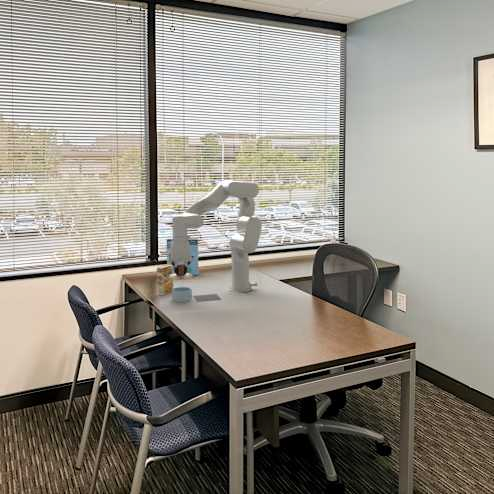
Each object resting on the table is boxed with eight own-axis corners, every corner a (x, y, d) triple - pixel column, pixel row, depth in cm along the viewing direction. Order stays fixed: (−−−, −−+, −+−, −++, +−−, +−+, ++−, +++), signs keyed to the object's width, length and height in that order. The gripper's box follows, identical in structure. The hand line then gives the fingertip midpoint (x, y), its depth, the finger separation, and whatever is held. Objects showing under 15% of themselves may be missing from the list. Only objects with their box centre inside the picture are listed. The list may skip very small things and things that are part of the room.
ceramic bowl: (189, 297, 282) (189, 286, 281) (193, 302, 273) (193, 290, 272) (170, 298, 279) (170, 287, 278) (174, 303, 270) (173, 292, 269)
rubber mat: (216, 295, 287) (216, 293, 287) (222, 300, 274) (222, 299, 274) (192, 296, 283) (192, 295, 283) (197, 303, 271) (197, 301, 271)
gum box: (167, 275, 338) (166, 239, 335) (169, 273, 343) (167, 238, 340) (197, 275, 337) (196, 239, 333) (198, 273, 342) (198, 238, 338)
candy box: (163, 296, 285) (162, 268, 283) (157, 295, 288) (156, 267, 285) (173, 292, 293) (172, 265, 291) (167, 291, 295) (166, 264, 293)
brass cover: (190, 273, 281) (190, 262, 280) (194, 278, 270) (194, 266, 269) (167, 275, 278) (167, 263, 277) (171, 279, 266) (170, 267, 265)
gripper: (194, 237, 277) (195, 272, 280) (162, 238, 272) (163, 274, 275) (197, 239, 270) (198, 274, 272) (165, 240, 265) (165, 276, 268)
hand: (180, 274), depth 274 cm, fingers closed on brass cover, 3 cm apart
